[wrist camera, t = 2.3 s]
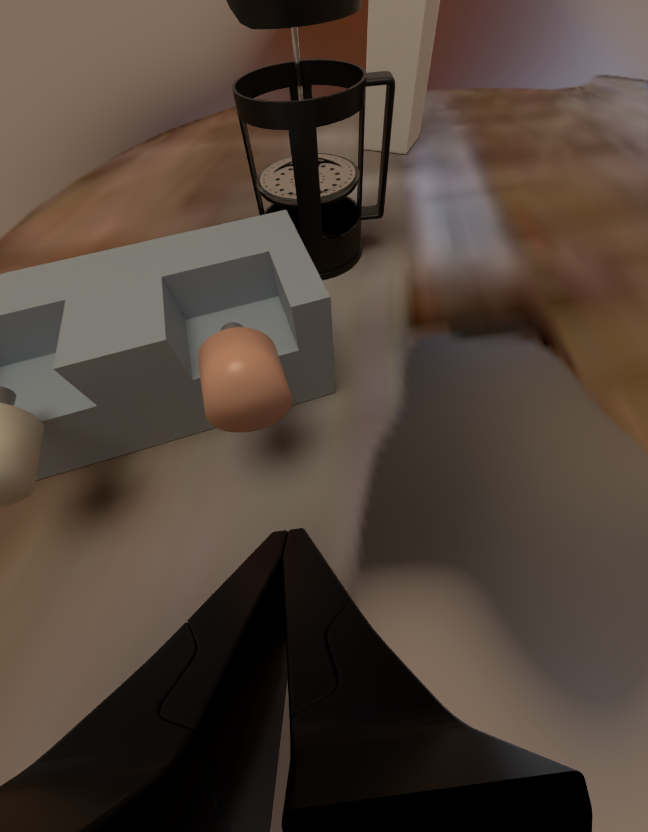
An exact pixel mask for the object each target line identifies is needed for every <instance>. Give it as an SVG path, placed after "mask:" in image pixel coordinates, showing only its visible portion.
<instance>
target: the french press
mask: <svg viewBox="0 0 648 832" xmlns="http://www.w3.org/2000/svg"><path fill="white" fill-rule="evenodd" d="M227 3H228V5H229V7H230V9H231V10H232V11H233V13H234V14H235V16H236V17H237V19H238V20H239V22H240V23H241V24H243V25H245V26H247V27H249V28H251V29H280V28H291V30H292V40H293V51H294V61H290V62H283V63H278V64H273V65H270V66H266V67H262V68H259V69H256V70H253V71H251V72H248V73H246V74H244V75H243V76H241V77H239V78H238V79H237V80H236V81H235V82H234V84H233V85H232V90H233V94H234V99H235V104H236V108H237V113H238V117H239V122H240V127H241V131H242V136H243V140H244V145H245V149H246V154H247V159H248V163H249V168H250V172H251V177H252V181H253V186H254V191H255V195H256V200H257V204H258V209H259V213H260V215H265V214H269V213H274V212H278V211H282V210H287V212H288V214H289V216H290V218H291V220H292V222H293V224H294V226H295V228H296V230H297V232H299V231H301V238H302V242H303V244H304V246H305V248H306V250H307V252H308V254H309V256H310V258H311V260H312V262H313V264H314V266H315V268H316V270H317V272H318V274H319V276H320V277H321V279H327V278H331V277H335V276H337V275H339V274H342V273H344V272H346V271H347V270H349V269H350V268H352V267H353V266H354V265H355V264H356V263H357V261H358V260H359V258H360V256H361V253H362V240H361V238H360V234H361V220H367V219H378V218H381V217H382V216H383V213H384V203H385V193H386V182H387V171H388V160H389V149H390V139H391V128H392V117H393V106H394V96H395V79H394V77H393V75H392V74H391V72H389V71H379V72H370V73H366V71H365V70H364V69H363V68H362V67H360V66H359V65H356V64H353V63H350V62H345V61H339V60H327V59H326V60H325V59H314V60H300V54H299V43H298V30H297V27H300V26H308V25H314V24H319V23H325V22H329V21H334V20H337V19H341V18H344V17H347V16H350V15H352V14H354V13H356V12H357V11H359V10H360V9H361V0H227ZM312 85H332V86H339V87H344V88H348V89H346V90H343V91H341V92H338V93H334V94H331V95H328V96H323V97H318V98H312ZM380 85H386V97H385V110H384V123H383V137H382V150H381V163H380V176H379V189H378V202H377V205H374V206H363V207H362V180H363V153H364V126H365V98H366V87H370V86H380ZM287 87H289V90H290V99H291V101H266V100H257V99H253V98H255V97H257V96H259V95H261V94H264V93H267V92H270V91H274V90H278V89H282V88H287ZM357 112H359V150H358V167H357V166H356V165H355V164H354V163H353V162H352V161H350V160H348V159H346V158H344V157H341V156H337V155H332V154H323V153H318V149H317V134H316V127H320V126H324V125H329V124H332V123H335V122H339V121H342V120H344V119H346V118H349V117H351V116H352V115H354V114H356V113H357ZM246 123H247V124H249V125H252V126H255V127H259V128H264V129H273V130H289V138H290V147H291V155H292V156H291V157H287V158H284V159H281V160H278V161H276V162H274V163H272V164H270V165H268V166H267V167H265V168H264V169H263V170H262V171H261V172H260V173H259V175H258V177H257V174H256V169H255V164H254V159H253V154H252V150H251V145H250V140H249V135H248V130H247V125H246ZM357 182H358V189H357V203H356V202H355V201H354V200H352V199H351V198H349V197H347V195H349V194H350V193H351V192H352V191H353V190H354V189H355V187H356V185H357ZM261 195H262V196H263V197H264V198H265V199H266V200H267V201H269V202H271V203H273V204H272V205H270V206H269V207H268V208H267V209H266V211H265V212H264V208H263V203H262V198H261ZM323 229H329V230H333V231H336V232H338V233H340V234H342V235H340V236H337V237H335V238H332V239H329V240H325V241H323Z"/></svg>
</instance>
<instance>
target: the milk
mask: <svg viewBox="0 0 648 832" xmlns="http://www.w3.org/2000/svg"><path fill="white" fill-rule="evenodd" d="M439 4H440V0H369V5H368V33H367V62H366V73H370V72H379V71H389V72H391V74H392V75H393V77H394V79H395V96H394V106H393V117H392V128H391V139H390V149H389V153H397V154H407V152H408V151H409V150H410V148H411V147H412V146H413V144H414V143H415V142H416V140H417V139H418V137H419V135H420V129H421V122H422V115H423V109H424V102H425V96H426V89H427V82H428V76H429V70H430V63H431V56H432V49H433V42H434V37H435V30H436V24H437V16H438V10H439ZM385 97H386V85H380V86H370V87H366V98H365V126H364V150H372V151H380V152H381V150H382V137H383V123H384V110H385Z"/></svg>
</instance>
